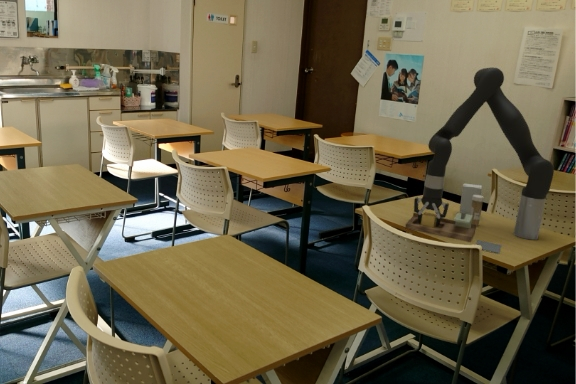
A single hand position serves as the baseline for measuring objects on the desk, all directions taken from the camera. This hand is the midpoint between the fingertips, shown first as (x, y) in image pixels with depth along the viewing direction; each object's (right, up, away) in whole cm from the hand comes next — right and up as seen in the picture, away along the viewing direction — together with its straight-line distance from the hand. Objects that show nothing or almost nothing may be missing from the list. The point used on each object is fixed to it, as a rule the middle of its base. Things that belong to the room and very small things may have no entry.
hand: (428, 224), depth 216 cm
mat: (+18, -8, -15) cm, 25 cm away
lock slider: (+12, -2, -4) cm, 13 cm away
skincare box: (+24, +2, +23) cm, 34 cm away
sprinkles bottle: (+22, -1, +10) cm, 25 cm away
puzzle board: (+4, -3, -2) cm, 5 cm away
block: (0, -2, 0) cm, 2 cm away
